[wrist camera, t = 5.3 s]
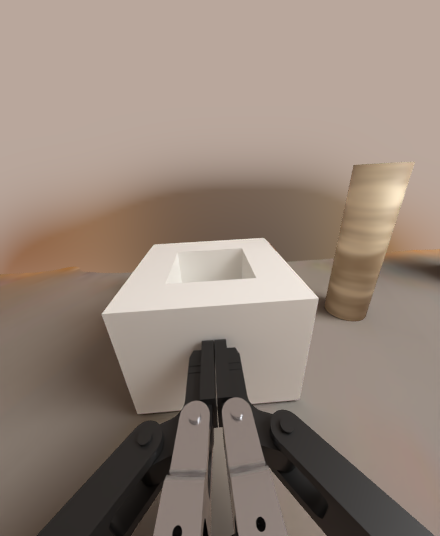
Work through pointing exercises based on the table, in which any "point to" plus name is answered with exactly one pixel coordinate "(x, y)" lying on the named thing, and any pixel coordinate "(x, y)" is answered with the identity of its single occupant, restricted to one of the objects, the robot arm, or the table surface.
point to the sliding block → (211, 320)
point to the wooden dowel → (365, 236)
